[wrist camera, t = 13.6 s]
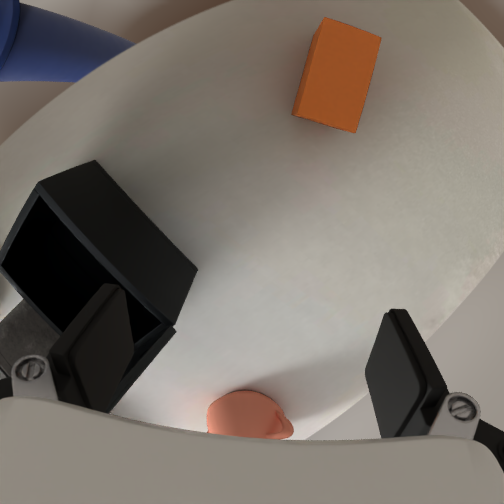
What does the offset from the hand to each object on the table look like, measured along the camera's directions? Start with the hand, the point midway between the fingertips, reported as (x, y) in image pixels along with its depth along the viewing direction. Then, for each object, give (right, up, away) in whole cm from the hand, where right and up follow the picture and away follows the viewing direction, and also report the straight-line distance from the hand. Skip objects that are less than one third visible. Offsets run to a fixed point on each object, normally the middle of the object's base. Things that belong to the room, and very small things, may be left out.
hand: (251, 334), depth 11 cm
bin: (-17, +3, +26) cm, 31 cm away
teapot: (-2, -23, +38) cm, 44 cm away
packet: (+7, +20, +18) cm, 28 cm away
